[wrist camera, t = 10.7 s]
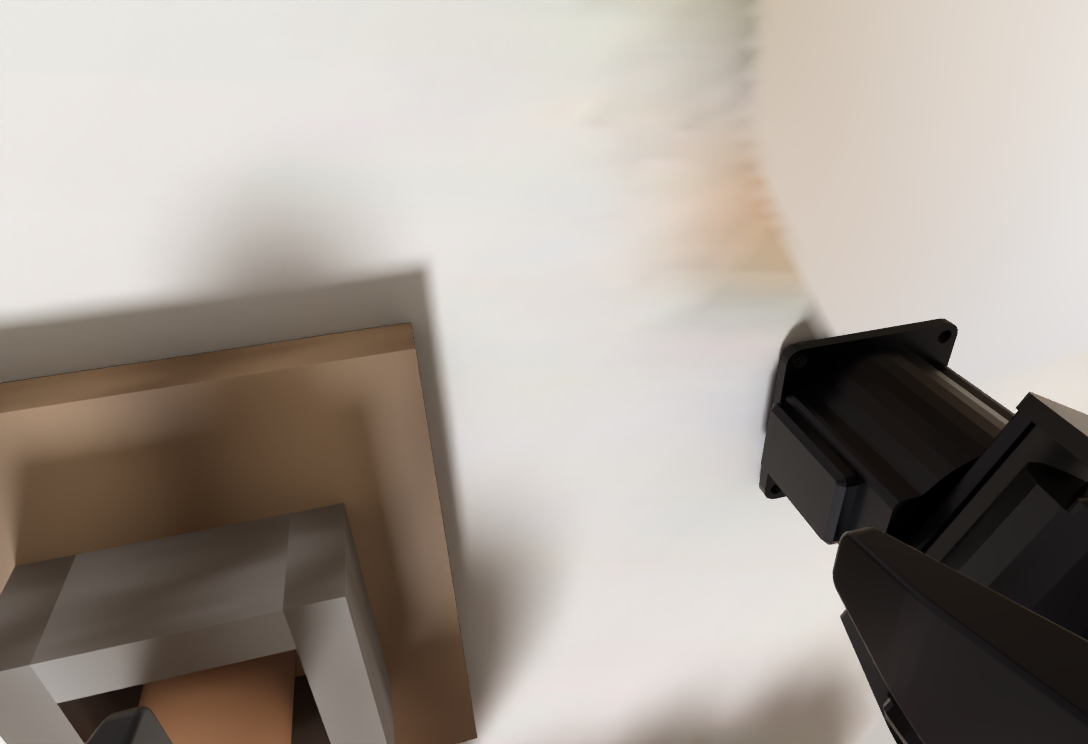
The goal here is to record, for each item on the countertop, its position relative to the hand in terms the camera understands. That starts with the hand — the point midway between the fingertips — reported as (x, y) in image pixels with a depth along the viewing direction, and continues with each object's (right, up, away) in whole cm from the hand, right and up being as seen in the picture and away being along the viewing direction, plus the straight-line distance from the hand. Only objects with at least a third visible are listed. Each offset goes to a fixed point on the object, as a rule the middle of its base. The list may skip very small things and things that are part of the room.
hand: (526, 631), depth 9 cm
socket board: (-10, -4, +14) cm, 18 cm away
